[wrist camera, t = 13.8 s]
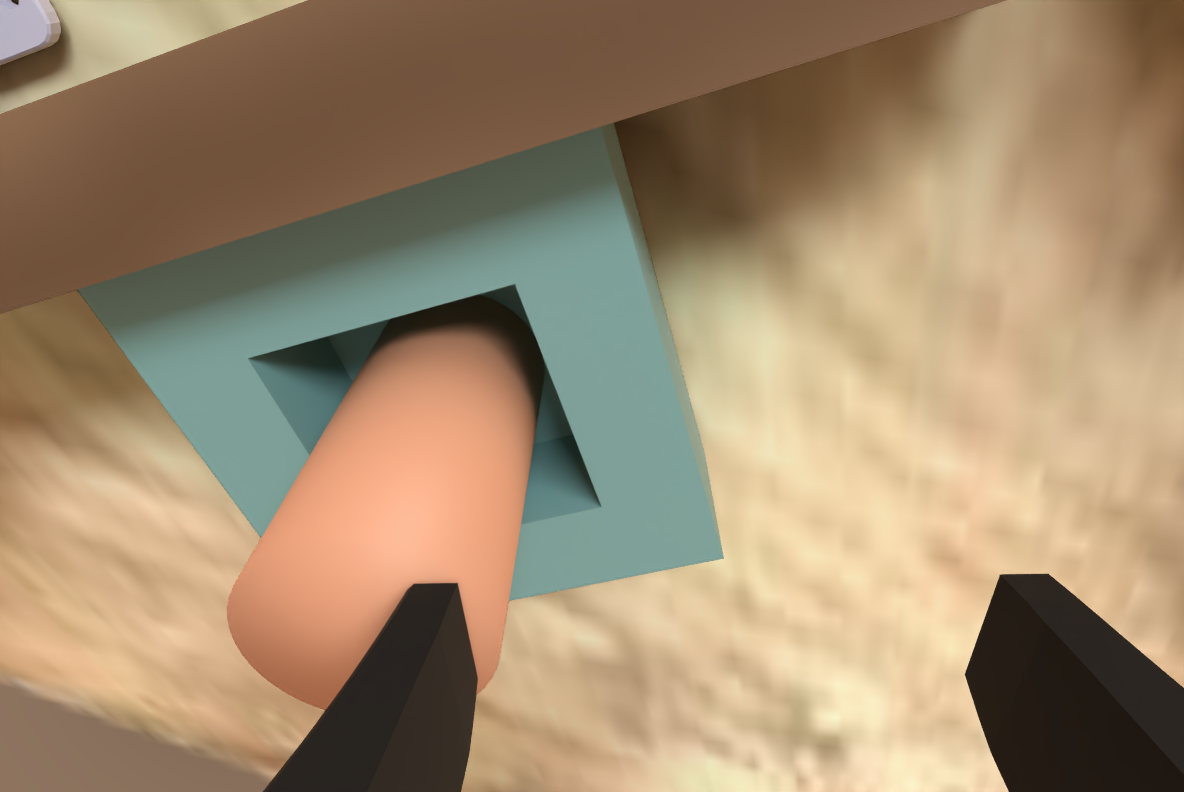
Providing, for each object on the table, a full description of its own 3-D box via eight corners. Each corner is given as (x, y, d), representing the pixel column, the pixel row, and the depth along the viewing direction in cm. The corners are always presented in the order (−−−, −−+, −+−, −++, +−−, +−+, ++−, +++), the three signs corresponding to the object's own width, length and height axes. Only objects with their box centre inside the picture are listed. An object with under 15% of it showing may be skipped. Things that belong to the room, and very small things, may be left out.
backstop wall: (-114, 168, 16) (-436, 274, 11) (1009, -243, 12) (1292, -363, 7) (-33, 267, 18) (-289, 403, 13) (1009, -74, 13) (1247, -75, 8)
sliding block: (182, 213, 17) (73, 285, 13) (601, 77, 15) (598, 121, 12) (375, 526, 22) (333, 635, 18) (704, 452, 20) (723, 558, 17)
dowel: (368, 285, 16) (196, 531, 10) (545, 295, 16) (497, 546, 10) (387, 430, 19) (257, 713, 12) (543, 438, 19) (503, 726, 12)
